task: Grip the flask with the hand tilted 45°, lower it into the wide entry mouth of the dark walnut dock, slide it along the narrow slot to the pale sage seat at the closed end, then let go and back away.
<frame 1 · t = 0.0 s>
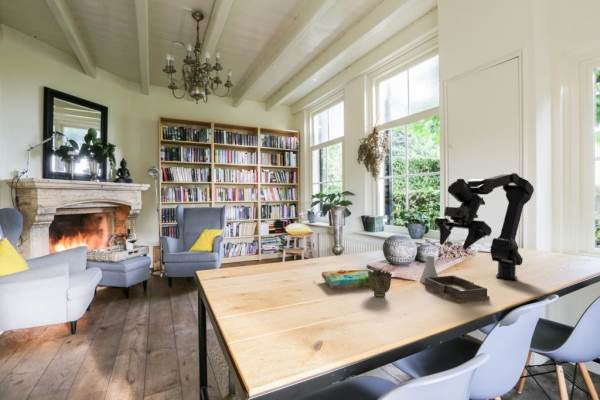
hand: (451, 246, 101), 15 cm above the table, tool tilted 35°, fingers open, 9 cm apart
flask: (429, 283, 108), on the table
walnut dock: (462, 296, 93), on the table
puzzle game: (352, 285, 105), on the table
cup: (379, 297, 93), on the table
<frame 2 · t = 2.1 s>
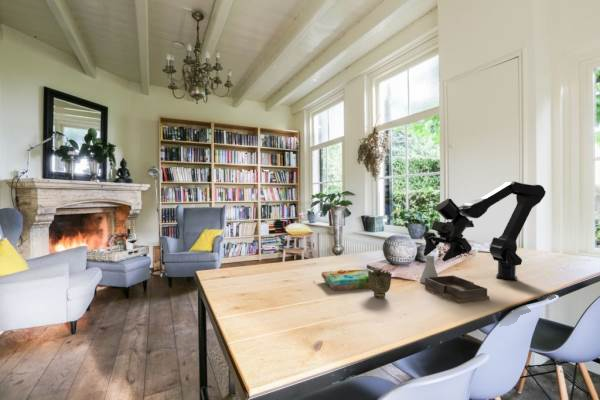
hand: (433, 257, 108), 9 cm above the table, tool tilted 45°, fingers open, 9 cm apart
nothing on the table moved.
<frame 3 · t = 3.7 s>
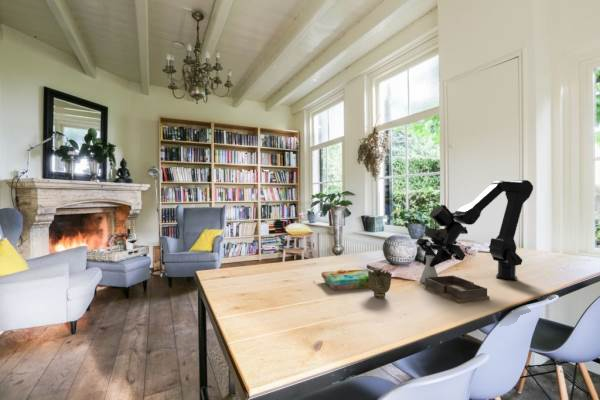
hand: (426, 265, 107), 7 cm above the table, tool tilted 45°, fingers closed on flask, 3 cm apart
flask: (429, 282, 108), on the table, touching gripper
everything else where it was.
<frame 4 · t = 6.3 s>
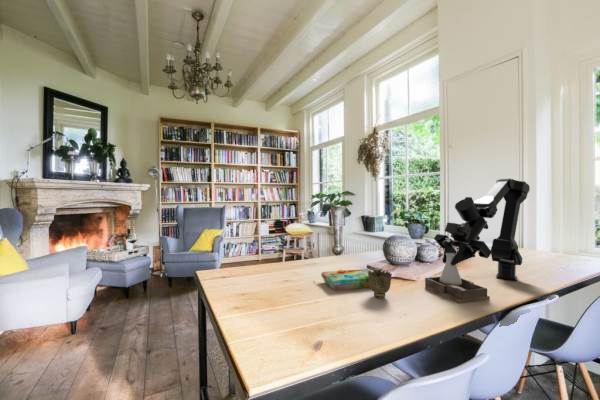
hand: (447, 263, 98), 10 cm above the table, tool tilted 45°, fingers closed on flask, 3 cm apart
flask: (450, 282, 98), point 3 cm above the table, touching gripper
everything else where it was.
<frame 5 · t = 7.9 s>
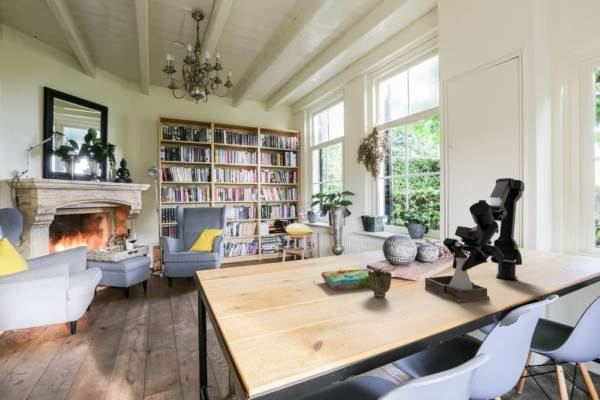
hand: (457, 269, 93), 9 cm above the table, tool tilted 45°, fingers closed on flask, 3 cm apart
flask: (460, 289, 94), point 2 cm above the table, touching gripper
everything else where it was.
when the fingers open (9 cm above the table, at t = 9.0 s): flask stays where it is, resting on walnut dock.
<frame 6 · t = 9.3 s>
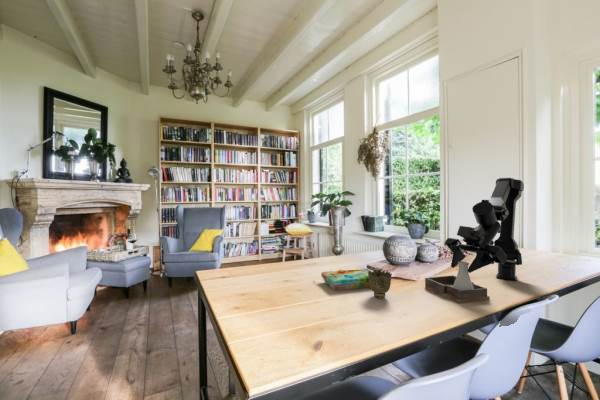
hand: (460, 269, 92), 9 cm above the table, tool tilted 45°, fingers open, 6 cm apart
flask: (463, 293, 93), point 1 cm above the table, touching walnut dock
everything else where it was.
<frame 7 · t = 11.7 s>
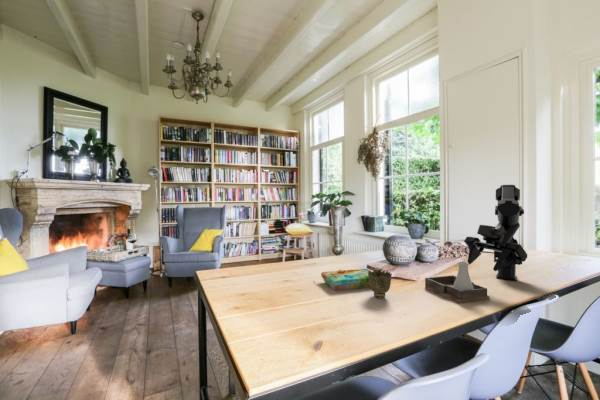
hand: (480, 266, 95), 9 cm above the table, tool tilted 45°, fingers open, 9 cm apart
nothing on the table moved.
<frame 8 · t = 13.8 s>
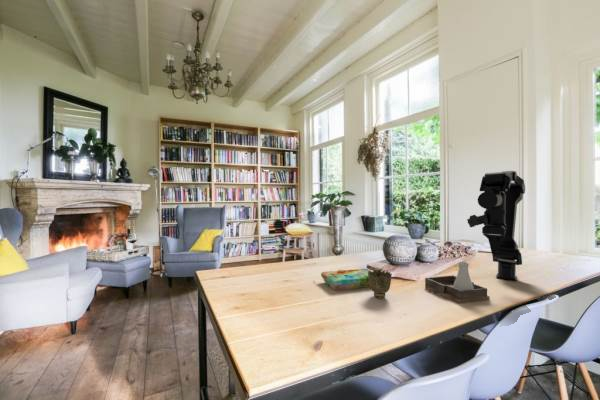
hand: (494, 251, 101), 13 cm above the table, tool pointing down, fingers open, 9 cm apart
nothing on the table moved.
at the end: flask 0.2 cm off-centre on the walnut dock, point 0.9 cm above the walnut dock's base; flask tilted 0°; the gripper is holding nothing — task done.
